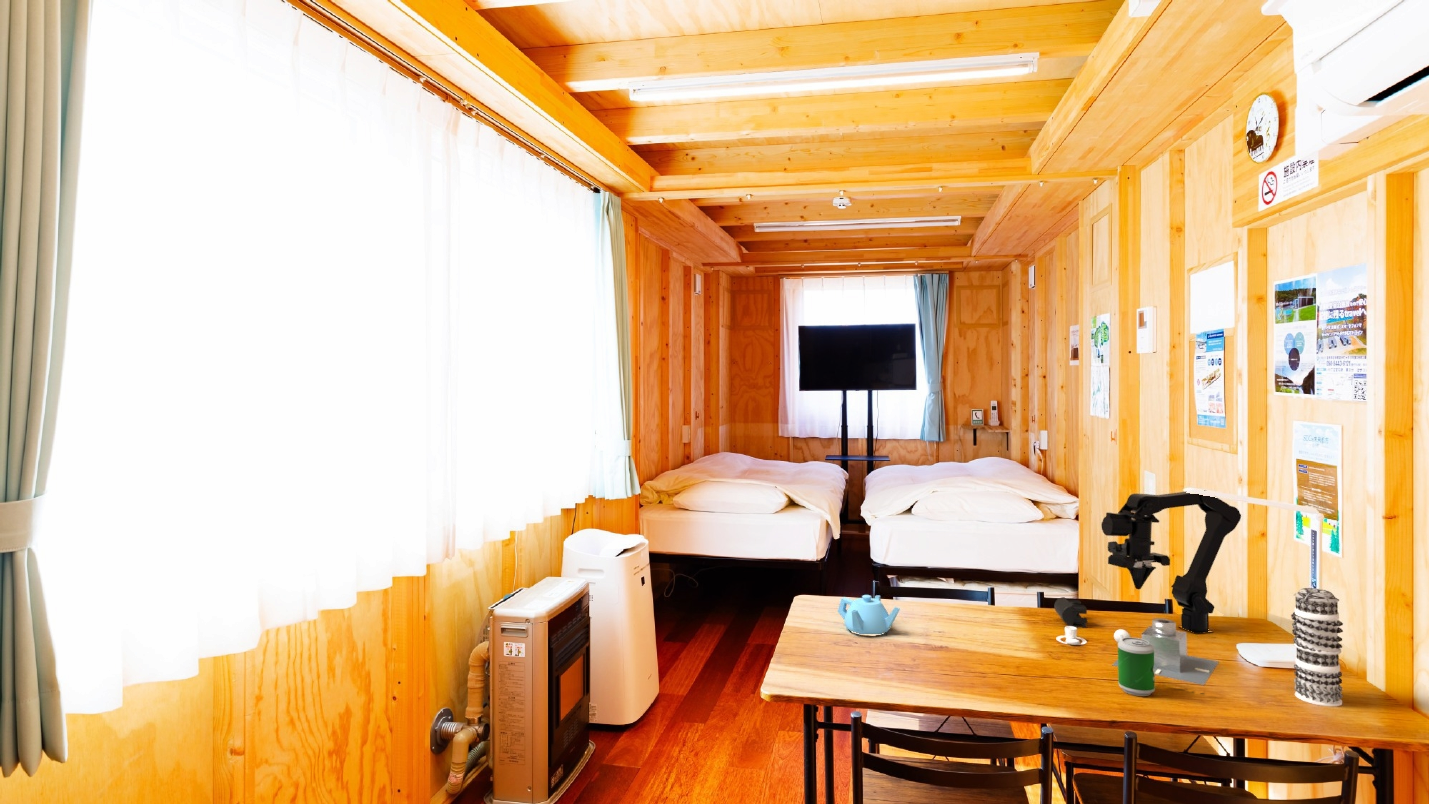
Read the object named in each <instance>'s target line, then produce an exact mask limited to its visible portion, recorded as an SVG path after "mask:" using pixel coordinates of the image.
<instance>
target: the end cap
mask: <svg viewBox="0 0 1429 804" xmlns="http://www.w3.org/2000/svg"><path fill="white" fill-rule="evenodd" d="M1053 605H1054V607H1053V608H1054V611H1055V613H1057V614H1058V616H1059V617H1060V618H1061V619H1062V621H1063V622H1064V623H1065V624H1066V626H1073V627H1076V628H1078V627H1082V629H1086V628H1087V625H1086V624H1087V623H1088V619H1087V617H1082V616H1081V615H1080V614H1082V615H1087V614H1088V612H1087V610H1088V609H1087V607H1086V606H1085V605H1084V604H1082V602H1081V601H1080V600H1078V599H1067V598H1066V597H1064V596H1063V597H1059V598H1057V599H1056V600H1055V602H1054V604H1053Z"/></svg>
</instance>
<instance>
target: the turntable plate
mask: <svg viewBox="0 0 1429 804" xmlns="http://www.w3.org/2000/svg"><path fill="white" fill-rule="evenodd" d="M1127 637H1131V634H1130V633H1129V632H1128V631H1127V630H1125V629H1123V628H1122V629H1121V628H1119V629H1117V630H1115V632H1114V634H1113V638H1114V640H1115V641H1116V643H1118V642H1119V641H1121V640H1122V639H1123V638H1127ZM1218 664H1219V660H1213V659H1207V658H1203V657H1202V658H1201V657H1198V656H1197V657H1196V656H1192V655H1188V654H1187V664H1186V665H1185V667H1184V668H1183V669H1182V671H1181V672H1180V673H1179V672H1174V671H1170V670H1165V669H1160V668H1155V667H1154V672H1155V676H1159V677H1165V678H1169V679H1173V680H1177V681H1181V682H1182V681H1183V682H1187V683H1191V684H1192V683H1193V684H1197V685H1199V686H1200V685H1201V686H1204V685H1205V684H1206V683H1207V681H1208V679H1209V678H1210V676H1211V675H1212V673H1213V671H1214V670H1215V668H1216V667H1217V665H1218ZM1111 666H1114V667H1117V668H1118V659H1116V661H1115V662H1113V664H1111Z"/></svg>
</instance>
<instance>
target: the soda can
mask: <svg viewBox="0 0 1429 804" xmlns="http://www.w3.org/2000/svg"><path fill="white" fill-rule="evenodd" d="M1117 660H1118V667H1117V669H1118V671H1117V674H1118V676H1117V677H1118V678H1117V679H1118V681H1117V682H1118V685H1119V687H1120V688H1121V689H1122V691H1123V692H1125V693H1126V694H1129V695H1131V696H1137V697H1148V696H1150V695H1151V694H1152V693H1154V692H1155V690H1156V689H1155V688H1156V684H1155V683H1156V682H1155V681H1156V680H1155V679H1156V677H1155V676H1156V675H1155V672H1154V648H1153V646H1152V645H1151V644H1150V643H1149V642H1148V641H1146V640H1144V639H1142V638H1139V637H1131V636H1130V637H1127V638H1123V639H1122V640H1121V641H1119V642H1117Z"/></svg>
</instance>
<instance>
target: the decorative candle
mask: <svg viewBox="0 0 1429 804" xmlns="http://www.w3.org/2000/svg"><path fill="white" fill-rule="evenodd" d="M1293 596H1294V597H1295V607H1294V612H1292V614H1290V617H1291V619H1292V620H1293V622H1292V623H1291V626H1292V634H1293V635H1294V638H1292V640H1293V646H1295V648H1296V656H1295V664H1294V665H1293V667H1294V669H1295V671H1294V676H1295V678H1294V679H1293V682H1294V684H1295V685H1294V686H1293V688H1294V691H1295V692H1294V696H1295V697H1296V698H1297V699H1299V700H1301V701H1303V702H1305V703H1310V704H1313V705H1317V706H1321V707H1330V708H1331V707H1333V708H1334V707H1340V706H1342V705H1343V700H1342V698H1343V693H1342V692H1343V686H1342V685H1340V684H1343V679H1342V678H1341V677H1343V673H1342V672H1341V664H1340V662H1339V661H1340V660H1339V658H1340V657H1339V655H1340V654H1342V648H1343V645H1342V643H1340V642H1342V641H1343V638H1342V637H1340V635H1338V634H1341V633H1343V632H1344V631H1343V629H1342V628H1341V626H1343V625H1344V623H1343V621H1340V620H1339V619H1340V615H1339V614H1340V613H1339V611H1338V609H1339V606H1338V602H1340V599H1339V598H1337V597H1336V596H1335V594H1333V593H1332V592H1331V591H1330V590H1326V589H1323V588H1322V589H1321V588H1313V587H1305V588H1301V589H1299V591H1298V592H1297V593H1296V592H1295V593H1293Z"/></svg>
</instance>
